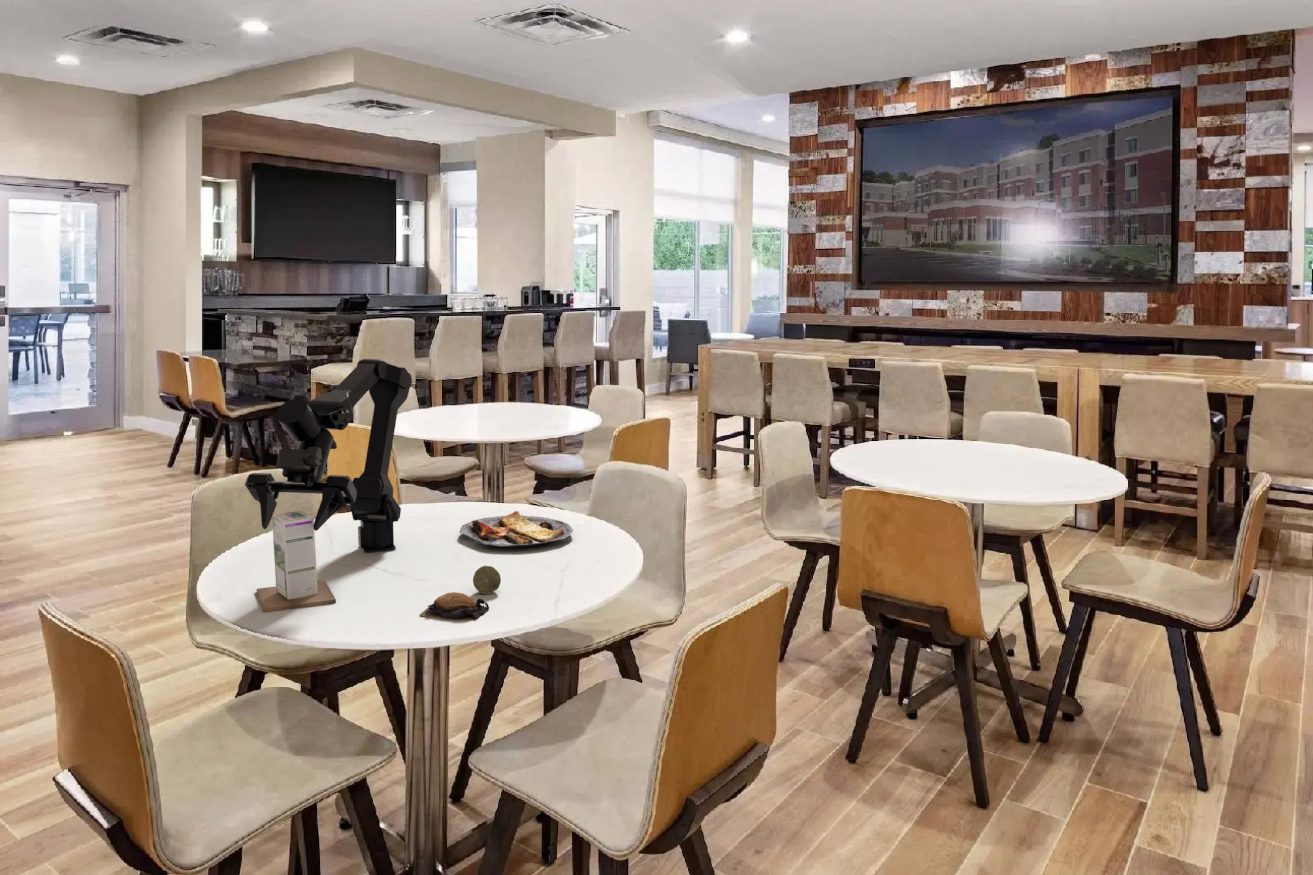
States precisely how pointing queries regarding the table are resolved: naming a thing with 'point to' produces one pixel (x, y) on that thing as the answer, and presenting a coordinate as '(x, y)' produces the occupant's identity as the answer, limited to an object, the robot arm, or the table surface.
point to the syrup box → (294, 555)
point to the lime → (486, 579)
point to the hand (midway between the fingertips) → (289, 528)
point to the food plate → (516, 530)
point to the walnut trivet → (277, 602)
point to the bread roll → (455, 607)
